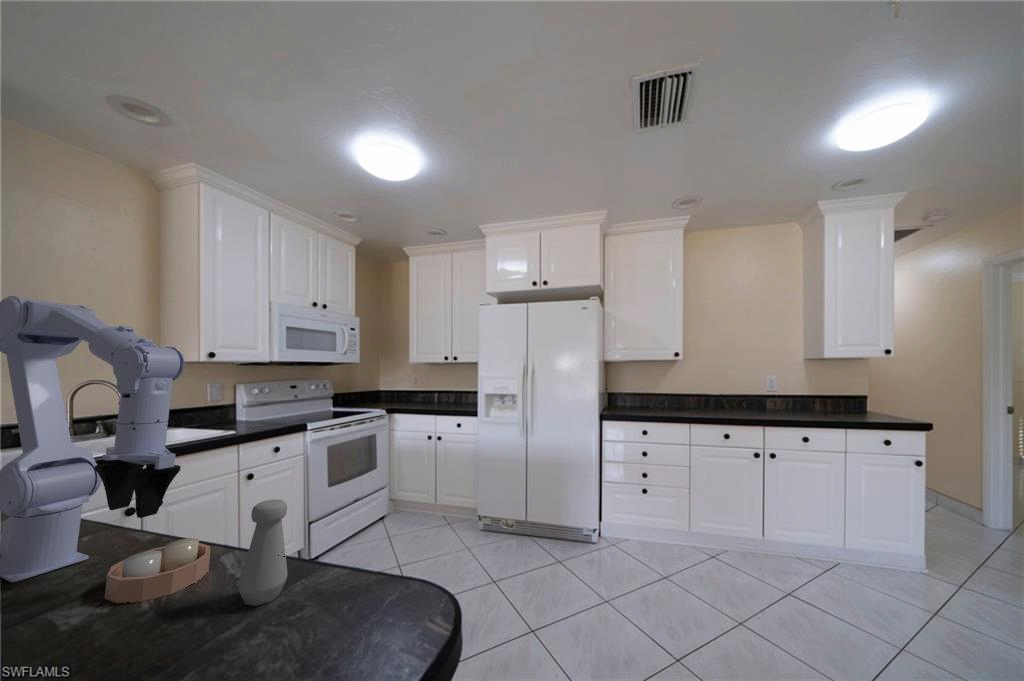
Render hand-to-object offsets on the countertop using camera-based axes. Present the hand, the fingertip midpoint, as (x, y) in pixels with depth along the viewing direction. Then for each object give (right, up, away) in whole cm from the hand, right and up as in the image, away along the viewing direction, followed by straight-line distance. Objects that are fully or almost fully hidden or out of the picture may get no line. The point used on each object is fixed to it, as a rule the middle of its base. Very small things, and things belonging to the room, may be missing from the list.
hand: (132, 511), depth 57 cm
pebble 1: (+4, -9, -3) cm, 11 cm away
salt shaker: (+23, -10, -5) cm, 26 cm away
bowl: (+5, -10, -1) cm, 11 cm away
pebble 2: (+6, -10, +1) cm, 12 cm away
